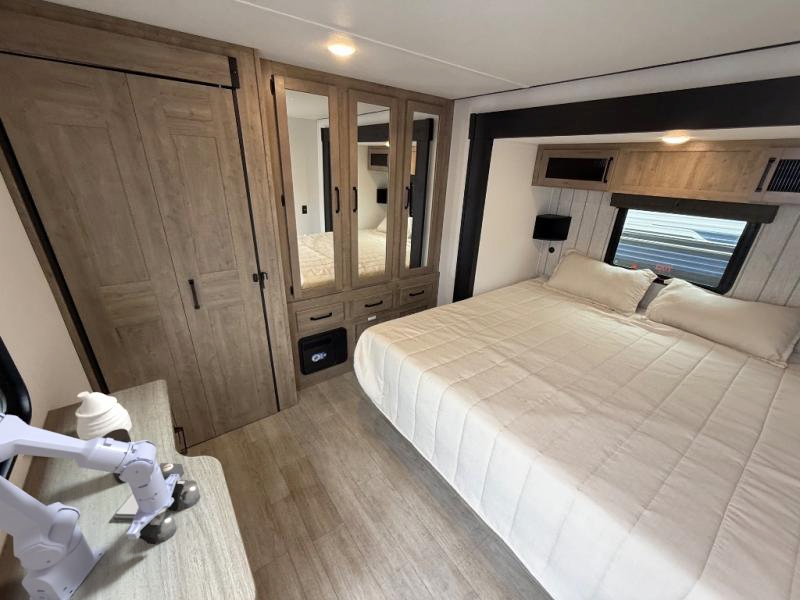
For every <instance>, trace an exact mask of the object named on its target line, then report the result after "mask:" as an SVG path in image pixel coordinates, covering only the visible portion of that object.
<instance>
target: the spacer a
mask: <svg viewBox="0 0 800 600" xmlns="http://www.w3.org/2000/svg"><path fill="white" fill-rule="evenodd" d="M175 520H176V519H175V518H174V515H173V512H172V511H164V512H162V513H160V514H158V515H157V516H156V517H155V518H154V519H153V520H152V522H151V521H150V524H151V525H158V526H157V530H156V532H157V536H158V542H157V543H164V542H167V541H168V540H170V539H171V538H172V537H173V536H174V535H175V534H176V532H177V528H178V527H177V523H176V521H175Z"/></svg>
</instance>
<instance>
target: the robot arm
mask: <svg viewBox="0 0 800 600" xmlns="http://www.w3.org/2000/svg"><path fill="white" fill-rule="evenodd" d="M157 451H158V447H157V445H156V443H155V442H152V441H150V440H147V439H143V440H138V441H131V442H128V443H125V442H120V441H115V440H114V439H112V438H101V437H96V438H94V439H91V440H88V441H84V440H80V439H79V438H76V437H74V436H73V437H72V436H68V435H65V434H62V433H58V432H54V431H50V430H47V429H44V428H41V427H40V428H39V427H35V426H33V425H32V426H31V425H29V424H27V423H26V422H25V421H23V419H21V418H20V417H19V416H17V415H13V414H5V413H3V412H0V463H2V462H4V461H6V460H8V459H10V458H12V457H15V456H18V455H24V456H25V455H26V456H33V457H34V456H35V457H46V458H56V459H67V460H73V461H75V463H76V465H77V467H78V468H81V469H87V470H95V471H100V472H108V473H112V474H113V473H119V474H120V476H119V478H120V480H122V481H124V482H126V483H128V485H129V488H130V489H131V492H132V493H133V495H134V497H135V500H136V502H137V504H138V510H137V512H136V515H135V517H134V520H133V521H131V522H132V523H131V525H130V526H129V527H128V529H127V530H126V533H125V534H126V537H127V539H128V540H138V539H140V540H142V541H144V542H145V543H146V544H147V545H157V543H159V542H158V536H157V532H156V530H157V526H158V525H151V520H152V519H153V518H154V517H155V516H156V515H157V514H158V513H160V512H161V511H162V510H163V509H164V508H168V510H169V511H170V512H178V511H179V509H180V503H181V501H180V496H181V493H182V490H183V488H184V486H183V484H177V482H179V480H181V479H180V476H179V474H171V475H170V476H169V477H168V478H167V479H166V480H164V478H163V475H162V472H161V469H160V467H159V465H160V464H159V463H158V460H157V457H156V456H157ZM80 517H81V510H80V509H79V508H78V507H75V506H70V505H65V504H63V503H62V502H59V501H57V502H53V503H51V504H48V505H45V504H44V503H43V502H41V501H39V500H38V499H36V498H35V497H33V496H32V495H29V494H28V493H27V492H25V491H24V490H22V489H21V488H20V487H18V486H16V485H15V484H14V483H12V482H11V481H9V480H7V479H6V478H4V477H3V476H2V475H0V530H1V531H2V532H5V533H6V534H8V535H10V536H11V537H12V538H13V540H12V542H13V547H12V548H13V556H14V557H15V558H18V559H19V561H20V564H21V566H22V567H23V568H24V569H26V570H29V571H28V572H27V574H26V575H25V577H23V578H22V581H21V585H22V587H23V588H24V590H25V591H26V592H27V594H29V598H28V599H29V600H70V599H71V597H72V595H74V593H75V590H78V588H79V587H80V586H81V584H82V583H83V581H84V580H85V579H86V578H87V576H88V575H89V574H90V572H92V570H93V569H94V567H96V565H97V564H98V562H99V561H100V560H101V558H102V557H103V555H104V554H105V553H106V549H93V548H91V547H90V544H89V542H88V541H87V539H86V537H85V535H84V534H83V532H82V530H81V528H80V527H79V525H78V524H79V523H78V520H79V519H80ZM71 591H72V592H71ZM70 592H71V593H70Z"/></svg>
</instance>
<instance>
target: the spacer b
mask: <svg viewBox="0 0 800 600" xmlns="http://www.w3.org/2000/svg"><path fill="white" fill-rule="evenodd" d="M183 486H184V488H183V490H182V493H181V496H180V503H181V506H182V507H183V508H185V509H188V508H192V507H194V506H196V505H197V504H198V503H199V501H200V499H201V493H200V489H199V487H198V483H197V481H196V480H188V481H187V482H185V483H184V484H183Z"/></svg>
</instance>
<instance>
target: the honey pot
mask: <svg viewBox="0 0 800 600" xmlns="http://www.w3.org/2000/svg"><path fill="white" fill-rule="evenodd" d="M77 398H78V399H79V400H83V401H82V403H81V405H80V406H79V407H78V408H77V409H76V410H75V412H74V414H75V417H77V419H76V420H77V424H76V425H77V426H76V433H77V436H78V439H80V440H84V441H88V440H91V439H94V438H96V437H101V438H102V437H103V436H104V435H106V434H107V433H109V432H111V431H113V430H117V429H126V430H127V431H128V432H130V430H131V428H132V425H133V423H132V420H131V417H130V415H129V412H128V410H127V409H125V408H124V407H123V406H122V404H120V403H119V402H118V400H117V398H116V397H114V396H111V395H106V394H104V393H102V392H97V391H96V392H89V391H81V392H79V393H78V394H77Z"/></svg>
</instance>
